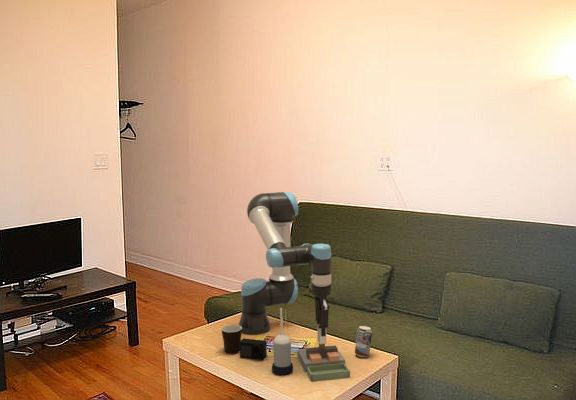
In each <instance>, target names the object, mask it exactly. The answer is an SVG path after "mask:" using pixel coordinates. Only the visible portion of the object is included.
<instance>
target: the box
mask: <svg viewBox="0 0 576 400" xmlns="http://www.w3.org/2000/svg"><path fill="white" fill-rule="evenodd" d="M306 374H307V376H308V378H309V380H310V382H316V381H317V382H319V381H327V380H337V379H345V378H346V379H347V378H351V370H350V369H349V368H348V366H347V364H346V362H345V363H339V364H329V365H319V366H309V367H307V372H306Z"/></svg>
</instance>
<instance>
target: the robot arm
mask: <svg viewBox="0 0 576 400" xmlns="http://www.w3.org/2000/svg"><path fill="white" fill-rule="evenodd" d="M246 214H247V218H248V220H249V221H250V223H251V224H253V225H254V226H255V229H256V231H257V233H258V234H259V236H260V238H261V240H262V242H263V244H264V246H265V248H266V250H267V251H266V253H265V260H266V265H267V266H268V267H269V268H272V270H271V271H272V273H271V274H270V275H269V276H268V280H266V279H265V278H261V277H260V278H251V279H249V280H245V281H244V282H243V283H242V284H241V287H240V289H241V290H240V296H241V299H240V300H241V315H240V319H239V322H238V325H239V326H241V327H242V333H241V334H245V335H253V336H254V335H262V334H265V333H268V332H269V331H270V330H271V322H270V319H269V317H268V312H267V307H274V306H278V305H279V306H280V305H288V304H292V303H294V302H295V301H296V300H297V297H298V293H299V286H298V281H297V280H296V278H294V275H293V274H292V273H291V267H292V266H302V265H303V266H304V265H311V276H310V279H311V283H312V284H311V293H312V295H314V305H315V306H314V307H315V308H314V309H315V310H314V311H315V312H314V313H315V321H316V324H317V326H316V327H317V333H316V334H317V342H318V345H319V344H325V345H326V344H327V329H328V328H329V311H330V305H329V301H328V300H329V299H327V297H328V296H330V295H331V294H332V250H331V249H332V248H331V245H330V244H328V243H326V244H325V243H316V244H315V243H314V244H312V243H303V244H302V245H299V246H291V225H292V224H293V223H294V221H295V220H294V219H295V217H297V216H298V214H299V204H298V200H297V197H296V196H295V194H294V193H292V192H289V191H288V192H287V191H281V192H268V193H266V192H265V193H264V192H263V193H258V194H257V195H255V196H253V197H252V198H251V200H250V201H249V203H248V204H247V209H246ZM319 323H320V326H319Z"/></svg>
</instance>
